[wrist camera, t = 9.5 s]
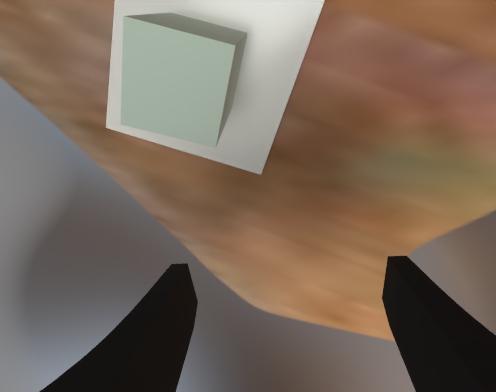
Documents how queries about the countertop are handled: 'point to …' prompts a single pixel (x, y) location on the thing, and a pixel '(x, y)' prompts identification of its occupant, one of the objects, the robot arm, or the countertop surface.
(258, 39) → the plate
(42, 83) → the countertop surface
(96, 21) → the countertop surface
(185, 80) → the block
